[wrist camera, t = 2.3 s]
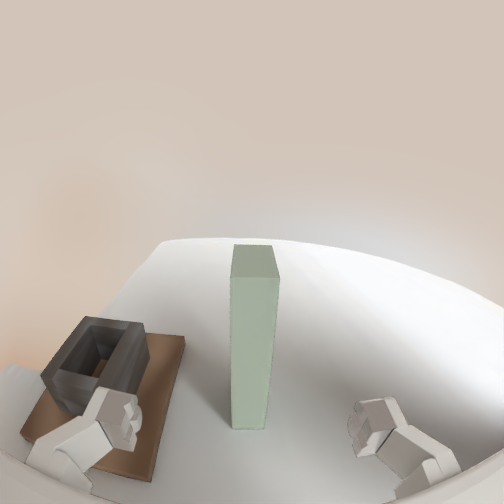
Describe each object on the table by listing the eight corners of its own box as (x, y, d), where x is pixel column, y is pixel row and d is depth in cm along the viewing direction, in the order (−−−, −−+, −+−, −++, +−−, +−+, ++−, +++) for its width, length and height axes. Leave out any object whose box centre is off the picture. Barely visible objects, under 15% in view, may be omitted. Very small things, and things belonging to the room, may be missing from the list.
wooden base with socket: (185, 343, 35) (180, 302, 33) (150, 482, 16) (129, 449, 14) (91, 332, 34) (81, 294, 32) (25, 439, 16) (-6, 398, 13)
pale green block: (261, 385, 28) (271, 245, 23) (264, 429, 23) (279, 278, 17) (233, 385, 28) (234, 244, 23) (232, 428, 23) (230, 276, 17)
